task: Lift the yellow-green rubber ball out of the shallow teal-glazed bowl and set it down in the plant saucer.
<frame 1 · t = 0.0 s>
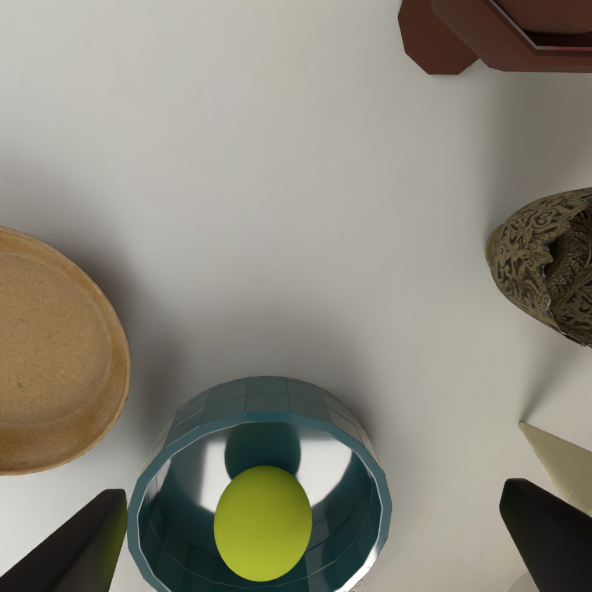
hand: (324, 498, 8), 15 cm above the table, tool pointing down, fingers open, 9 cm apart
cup: (504, 246, 23), on the table
plant saucer: (20, 341, 22), on the table
ice cream bowl: (446, 20, 19), on the table
ball: (263, 482, 25), point 1 cm above the table, touching glazed bowl
glazed bowl: (263, 475, 25), on the table
ice cream cone: (519, 423, 27), on the table
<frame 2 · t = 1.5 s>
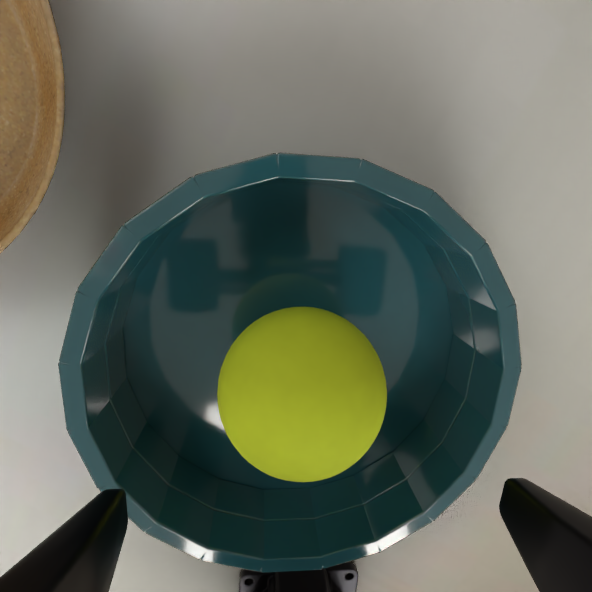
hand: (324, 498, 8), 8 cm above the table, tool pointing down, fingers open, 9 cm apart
ball: (294, 354, 16), point 1 cm above the table, touching glazed bowl
glazed bowl: (293, 348, 16), on the table
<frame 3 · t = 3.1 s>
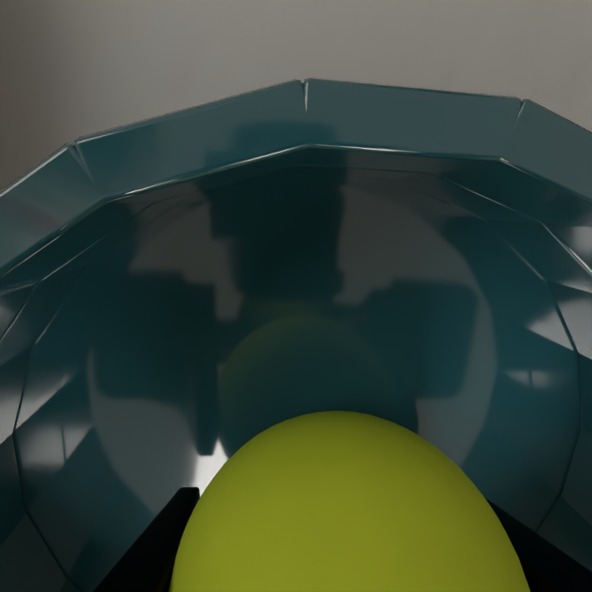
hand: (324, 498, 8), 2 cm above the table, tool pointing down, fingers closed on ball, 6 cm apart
ball: (317, 466, 9), point 1 cm above the table, touching glazed bowl, gripper
glazed bowl: (313, 450, 10), on the table
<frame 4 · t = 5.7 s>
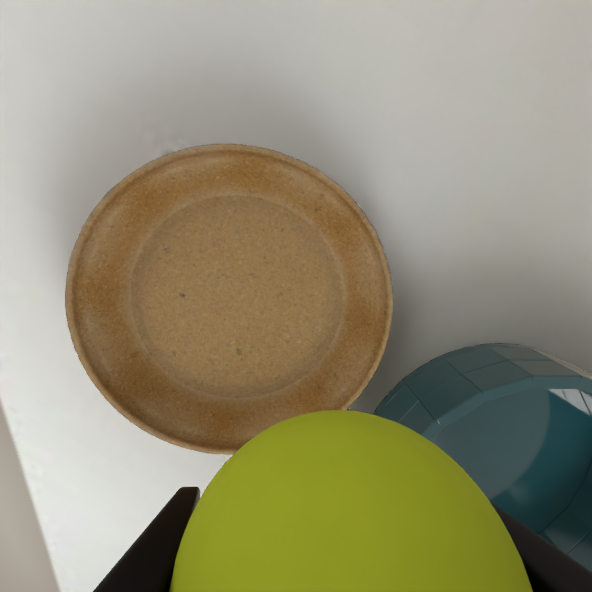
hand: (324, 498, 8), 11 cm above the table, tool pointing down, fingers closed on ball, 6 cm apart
plant saucer: (240, 301, 19), on the table
ball: (318, 465, 9), point 10 cm above the table, touching gripper
glazed bowl: (477, 459, 23), on the table
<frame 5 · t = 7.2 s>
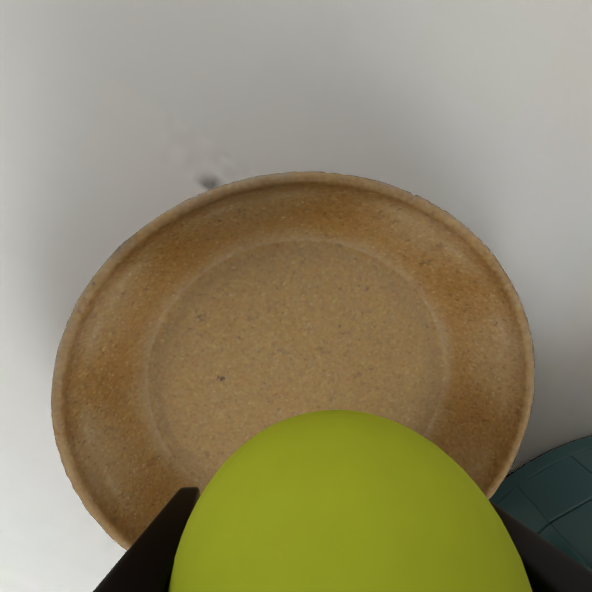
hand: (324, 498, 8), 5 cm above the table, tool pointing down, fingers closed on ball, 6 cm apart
plant saucer: (298, 381, 14), on the table
ball: (317, 465, 9), point 4 cm above the table, touching gripper
glazed bowl: (590, 567, 17), on the table
when the fingers open (4 cm above the table, at t = 8.3 s): ball stays where it is, resting on plant saucer.
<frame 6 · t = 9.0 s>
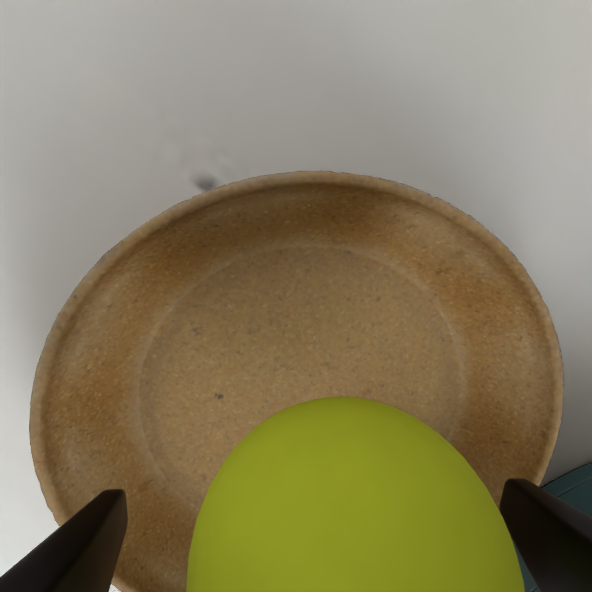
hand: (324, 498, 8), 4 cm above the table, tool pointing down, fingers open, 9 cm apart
plant saucer: (303, 397, 13), on the table, touching ball
ball: (315, 451, 10), point 3 cm above the table, touching plant saucer
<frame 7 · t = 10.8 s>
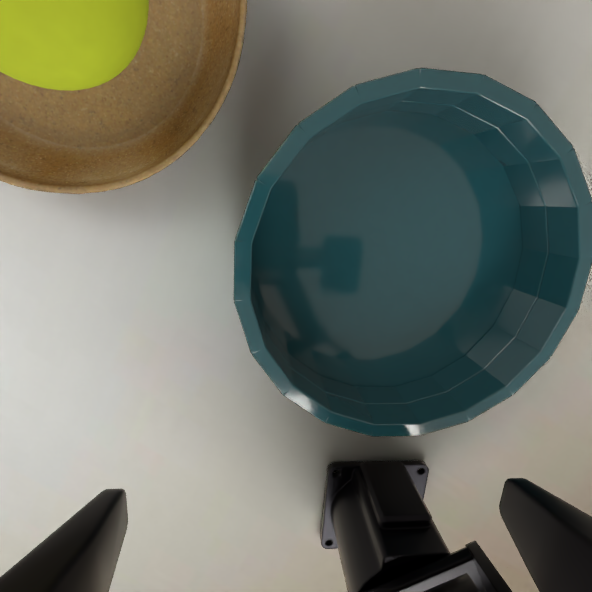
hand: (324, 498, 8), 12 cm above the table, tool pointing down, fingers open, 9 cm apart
plant saucer: (75, 14, 15), on the table, touching ball
glazed bowl: (386, 261, 19), on the table
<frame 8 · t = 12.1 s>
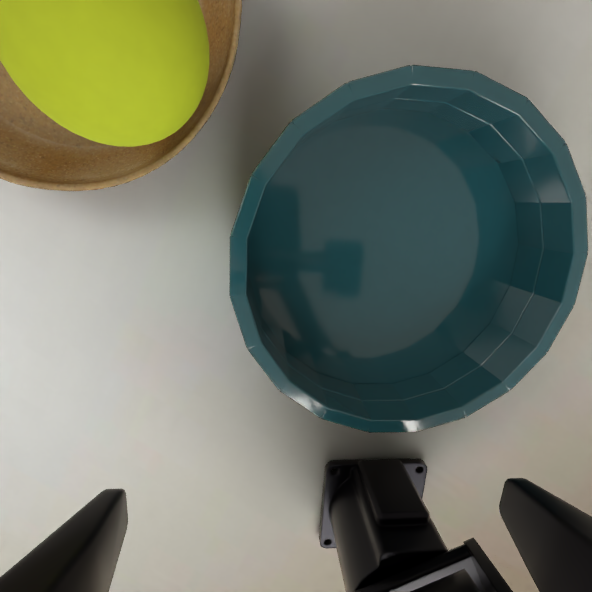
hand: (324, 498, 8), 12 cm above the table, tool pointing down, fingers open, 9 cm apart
plant saucer: (74, 16, 15), on the table, touching ball
glazed bowl: (383, 258, 19), on the table
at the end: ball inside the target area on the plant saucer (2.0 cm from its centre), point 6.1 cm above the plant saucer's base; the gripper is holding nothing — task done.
